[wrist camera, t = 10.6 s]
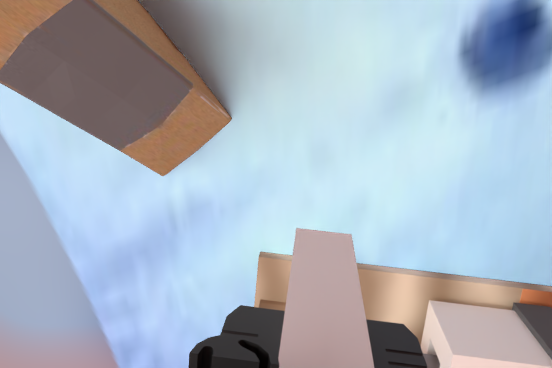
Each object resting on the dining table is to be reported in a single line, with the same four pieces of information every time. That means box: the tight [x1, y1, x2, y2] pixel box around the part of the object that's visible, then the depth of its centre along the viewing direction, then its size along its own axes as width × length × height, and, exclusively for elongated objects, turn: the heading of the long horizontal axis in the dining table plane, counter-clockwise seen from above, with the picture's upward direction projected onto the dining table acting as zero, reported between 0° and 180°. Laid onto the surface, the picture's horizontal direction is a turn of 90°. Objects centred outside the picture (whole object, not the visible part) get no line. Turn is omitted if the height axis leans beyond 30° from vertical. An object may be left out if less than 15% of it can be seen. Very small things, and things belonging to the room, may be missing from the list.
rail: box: [254, 252, 552, 368], centre depth 42 cm, size 30×11×8 cm, turn 85°
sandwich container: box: [0, 0, 232, 176], centre depth 36 cm, size 9×15×15 cm, turn 39°
